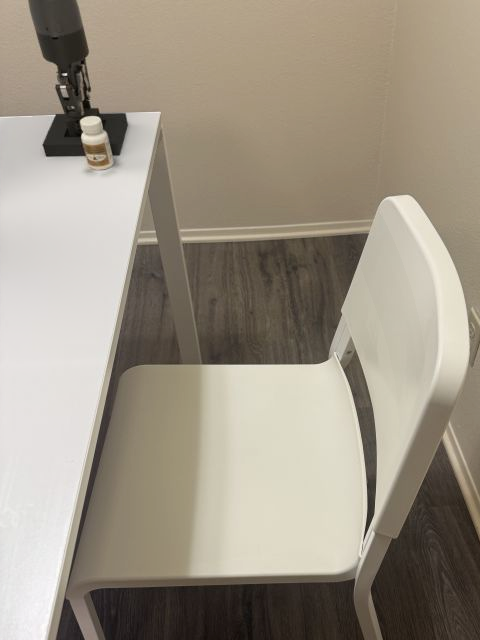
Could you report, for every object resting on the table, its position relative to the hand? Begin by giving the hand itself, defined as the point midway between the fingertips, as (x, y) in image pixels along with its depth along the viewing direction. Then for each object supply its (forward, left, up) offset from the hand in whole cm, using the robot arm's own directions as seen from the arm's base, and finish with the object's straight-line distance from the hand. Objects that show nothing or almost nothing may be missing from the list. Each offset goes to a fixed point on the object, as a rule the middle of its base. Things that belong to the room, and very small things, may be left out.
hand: (85, 128), depth 111 cm
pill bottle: (+4, -9, -2) cm, 10 cm away
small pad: (0, 0, 0) cm, 0 cm away
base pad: (0, 0, -2) cm, 2 cm away
